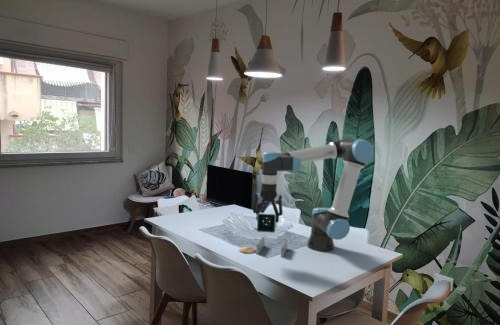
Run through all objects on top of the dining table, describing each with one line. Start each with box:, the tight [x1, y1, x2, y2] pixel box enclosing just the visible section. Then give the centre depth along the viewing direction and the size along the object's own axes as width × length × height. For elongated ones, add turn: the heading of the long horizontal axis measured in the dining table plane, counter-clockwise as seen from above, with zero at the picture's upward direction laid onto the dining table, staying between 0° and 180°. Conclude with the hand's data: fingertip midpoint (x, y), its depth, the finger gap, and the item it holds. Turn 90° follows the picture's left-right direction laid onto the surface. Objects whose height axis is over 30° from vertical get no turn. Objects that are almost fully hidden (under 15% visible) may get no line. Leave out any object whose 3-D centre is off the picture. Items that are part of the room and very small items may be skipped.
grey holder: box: [255, 236, 288, 258], centre depth 196 cm, size 14×14×5 cm
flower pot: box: [256, 213, 276, 234], centre depth 178 cm, size 9×9×9 cm
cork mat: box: [238, 246, 257, 255], centre depth 195 cm, size 9×9×1 cm
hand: (267, 227), depth 181 cm, fingers closed on flower pot, 7 cm apart
